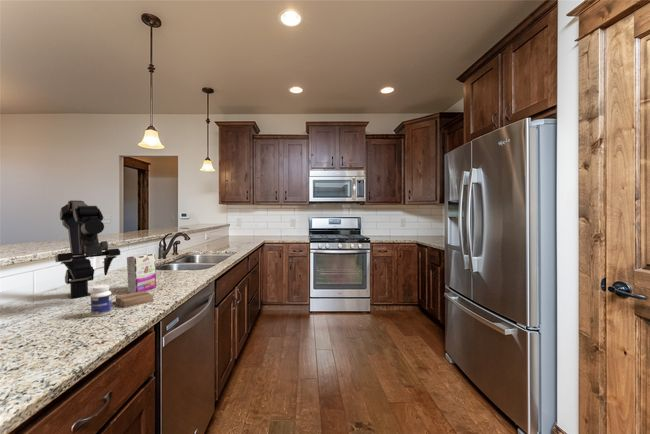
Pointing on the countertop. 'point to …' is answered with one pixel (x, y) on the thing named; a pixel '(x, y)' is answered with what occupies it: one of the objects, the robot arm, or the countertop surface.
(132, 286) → the candy bar box
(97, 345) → the countertop surface
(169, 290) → the countertop surface
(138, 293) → the walnut block
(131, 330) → the countertop surface
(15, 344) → the countertop surface
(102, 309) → the pill bottle
